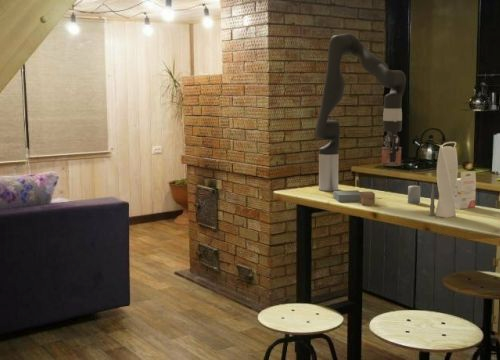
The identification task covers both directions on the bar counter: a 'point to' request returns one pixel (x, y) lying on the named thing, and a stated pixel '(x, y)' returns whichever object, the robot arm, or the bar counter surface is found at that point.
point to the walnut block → (367, 198)
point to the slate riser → (347, 196)
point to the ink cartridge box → (465, 190)
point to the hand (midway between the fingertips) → (391, 161)
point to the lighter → (387, 156)
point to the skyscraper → (445, 182)
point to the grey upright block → (414, 194)
